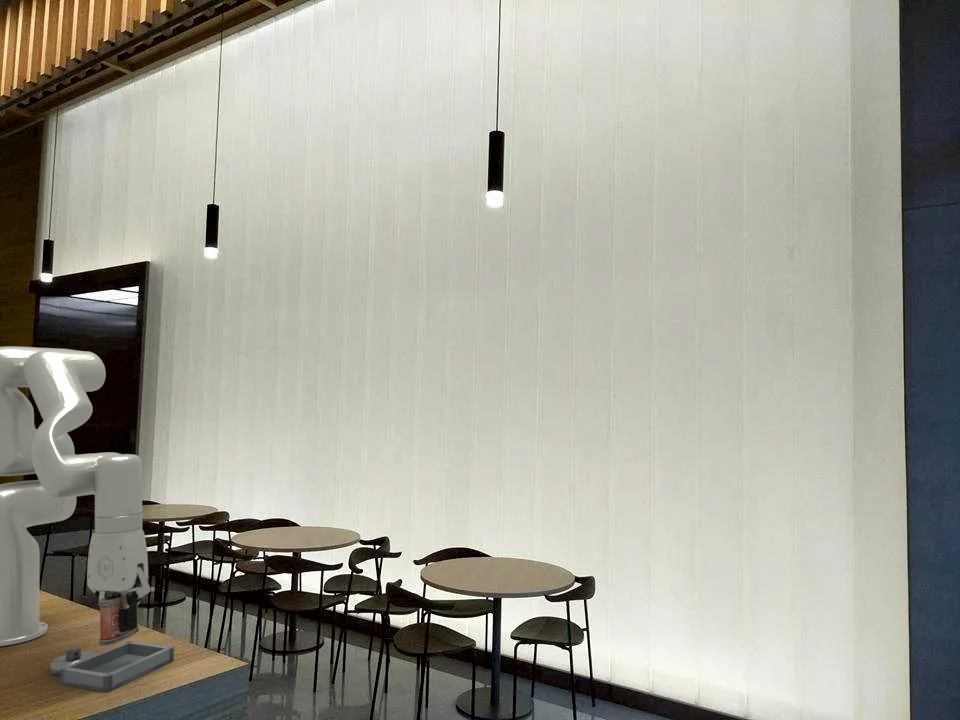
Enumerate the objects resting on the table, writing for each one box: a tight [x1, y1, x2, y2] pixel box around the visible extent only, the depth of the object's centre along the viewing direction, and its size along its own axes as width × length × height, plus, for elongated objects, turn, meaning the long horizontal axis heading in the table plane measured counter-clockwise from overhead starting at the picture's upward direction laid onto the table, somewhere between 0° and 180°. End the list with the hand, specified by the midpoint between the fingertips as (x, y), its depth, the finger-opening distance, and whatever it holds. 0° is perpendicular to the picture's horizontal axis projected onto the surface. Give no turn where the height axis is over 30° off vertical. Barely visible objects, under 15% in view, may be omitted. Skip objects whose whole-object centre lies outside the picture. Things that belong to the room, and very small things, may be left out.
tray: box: [59, 640, 175, 693], centre depth 121 cm, size 11×14×2 cm
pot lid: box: [49, 646, 96, 677], centre depth 124 cm, size 7×7×3 cm
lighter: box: [98, 591, 139, 647], centre depth 121 cm, size 8×3×10 cm, turn 168°
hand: (119, 627), depth 121 cm, fingers closed on lighter, 3 cm apart
